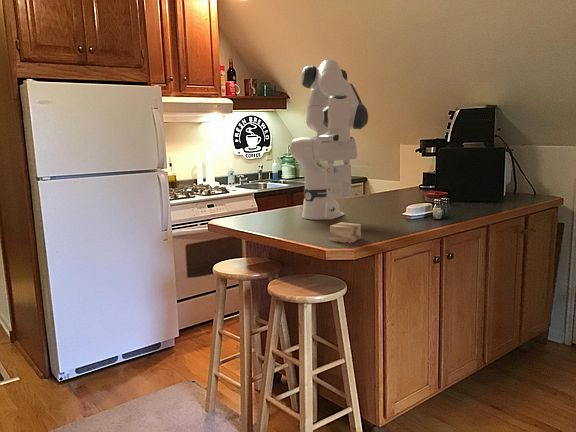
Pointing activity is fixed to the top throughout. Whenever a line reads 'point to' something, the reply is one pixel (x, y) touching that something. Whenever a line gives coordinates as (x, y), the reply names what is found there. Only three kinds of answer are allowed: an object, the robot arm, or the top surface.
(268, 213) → the top surface
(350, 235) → the maple block
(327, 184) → the small box
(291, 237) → the top surface
